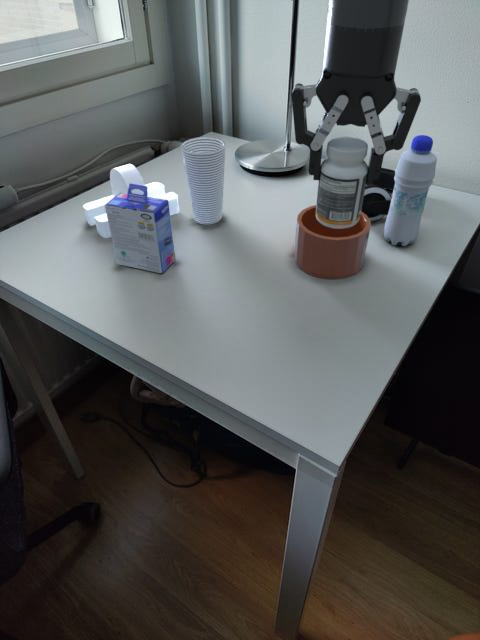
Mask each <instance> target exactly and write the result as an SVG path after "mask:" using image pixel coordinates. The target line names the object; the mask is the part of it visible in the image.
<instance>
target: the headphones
mask: <svg viewBox="0 0 480 640" xmlns="http://www.w3.org/2000/svg"><path fill="white" fill-rule="evenodd" d="M394 177H395V170H394V169H390V168H386V167H381V172H380V176H379V178H378V179H377V180H373V184H366V187H365V192H364V198H363V203H362V209H361V211H362V212H363V213H364V214H366V215H367V217H368V218H369V220H370V223H371V222H375V221H376V222H377V221H378V220H380V219H382V218H383V217H385V216H388V212H389V209H390V204H391V199H392V194H391V192H390V191H393V190H394V185H395V180H394ZM389 190H390V191H389Z"/></svg>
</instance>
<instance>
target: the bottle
mask: <svg viewBox="0 0 480 640" xmlns="http://www.w3.org/2000/svg"><path fill="white" fill-rule="evenodd" d="M433 145H434V140H433V138H432V137H431V136H430V135H425V134H420V135H416V136H414V137H413V138H412V141H411V145H410V149H407V150H405V151H403V152H402V153H401V154H400V157H399V159H398V163H397V165H396V168H395V170H394V171H395V177H394V180H395V185H394V190H392V194H391V196H392V199H391V204H390V209H389V212H388V215H386V219H385V223H384V228H383V233H384V234H383V235H384V240H385V241H386V242H391V244H392V245H393V246H397V244H398V243H401V246H402V247H406V246H407V245H411V244H413V243H414V242H415V241H416V239H417V237H418V235H419V231H420V227H421V222H422V216H423V212H424V209H425V204H426V202H427V198H428V194H429V190H430V187H431V186H432V185H433V183H434V181H433V180H434V179H435V177H436V168H437V161H438V157H437V155H436V154H435V153H433V152H432V149H433Z"/></svg>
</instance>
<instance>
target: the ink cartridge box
mask: <svg viewBox="0 0 480 640" xmlns="http://www.w3.org/2000/svg"><path fill="white" fill-rule="evenodd" d="M133 189H139V190H141V191H143V192H144V194H143V195H139V194H133V193H132V192H131V191H132V190H133ZM147 191H148V186H142V185H136V184H129V188H128V194H125V193H119V194H118V195H116V196H115V197H114V198H112V199H111V200H110V201H109V202H108V203H106V204H105V209H106V214H107V218H108V223H109V228H110V232H111V237H110V238H111V241H112V247H113V251H114V255H115V261H116V264H117V265H120V266H125V267H130V268H135V269H140V270H144V271H149V272H154V273H158V274H163V273H164V272H165V271H166V270H167V269H168V268H170V266H172V264H173V263H174V262H175V261H176V252H175V245H174V237H173V228H172V222H171V221H172V220H171V216H170V212H169V204H168V200H167V199H160V198H153V197H147Z"/></svg>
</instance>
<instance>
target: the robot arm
mask: <svg viewBox="0 0 480 640" xmlns="http://www.w3.org/2000/svg"><path fill="white" fill-rule="evenodd" d="M409 2H410V0H328V5H327V18H326V28H325V40H324V51H323V60H322V69H321V70H322V71H321V76H320V78H319V80H318V81H317V83H316V84H307V85H303V83H296V84H295V85H294V86H293V89H292V91H291V105H292V115H293V116H292V118H293V126H294V138H295V142H296V143H297V144H298V145H304V146H306V147H308V149H309V159H308V169H307V170H308V175H309V176H313V181H319V175H320V166H321V164H322V158H323V157H322V156H323V150H324V149H323V147H324V146H323V145H324V143H325V141H326V139H327V137H328V136H329V135H330V133H331V132H332V130H333V129H334V127H335V125H336V126H339V127H341V126H343V127H344V126H349V125H353V126H356V127H362V128H365V127H366V126H367V128H368V133H369V136H370V139H371V141H372V146H373V147H371V148H370V153H369V157H368V158H369V159H368V163H367V166H368V175H367V181H366V184H373V180H377V179H378V178H379V176H380V172H381V168H383V167H382V166H383V162H384V157H385V154H387V152H389V151H393V150H395V151H400V150H402V149H403V148H404V145H405V142H406V140H407V138H408V135H409V133H410V130H411V127H412V125H413V122H414V119H415V117H416V114H417V111H418V109H419V106H420V104H421V102H422V97H421V93H420V92H419V89H417V88H415V87H412V88H410V89H407V88H401V87H397V84H396V81H395V76H396V70H397V65H398V59H399V54H400V49H401V43H402V38H403V33H404V27H405V22H406V17H407V12H408V9H409V7H408V6H409ZM314 97H317V99H318V101H319V103H320V104H321V106H322V108H323V110H324V111H325V112H324V114H323V115H322V117H321V119H320V121H319V123H318V125H317V127H316V129H315V130H314V132H313V131H311V130H308V118H307V109H308V108H309V107H310V106H311V104H312V99H313V98H314ZM393 100H396V107H397V111H398V112H399V114H398V117H397V120H396V122H395V125H394V128H393V131H392V133H391V134H389V135H384V131H383V128H382V123H381V119H380V114H382V112H383V111H384V110H385V109H386V108H387V107H388V106H389V105H390V104H391V103H392V102H393Z"/></svg>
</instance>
